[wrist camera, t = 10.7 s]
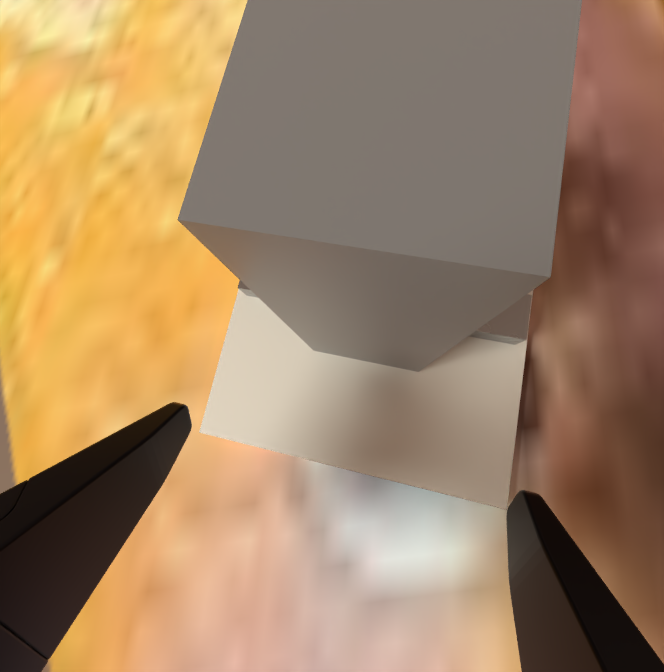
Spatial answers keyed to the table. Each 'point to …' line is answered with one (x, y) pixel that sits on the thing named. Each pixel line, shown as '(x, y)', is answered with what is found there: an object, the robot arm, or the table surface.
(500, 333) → the din rail
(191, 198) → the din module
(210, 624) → the table surface
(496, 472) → the board
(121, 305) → the table surface
